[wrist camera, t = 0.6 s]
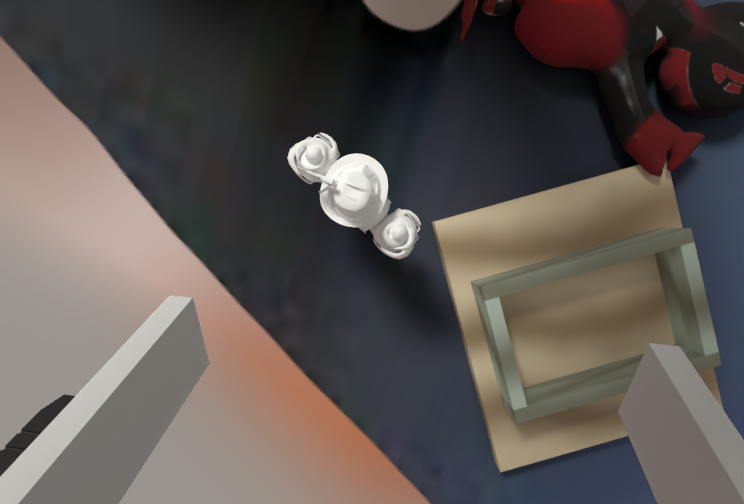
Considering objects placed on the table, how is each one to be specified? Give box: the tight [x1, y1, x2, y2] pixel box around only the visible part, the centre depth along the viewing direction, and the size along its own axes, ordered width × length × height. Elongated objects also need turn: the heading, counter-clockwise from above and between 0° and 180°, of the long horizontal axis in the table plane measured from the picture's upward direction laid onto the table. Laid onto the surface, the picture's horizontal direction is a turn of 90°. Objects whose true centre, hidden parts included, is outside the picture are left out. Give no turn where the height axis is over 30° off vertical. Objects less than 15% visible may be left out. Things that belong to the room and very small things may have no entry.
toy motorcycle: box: [461, 0, 744, 177], centre depth 30 cm, size 25×5×16 cm
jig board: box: [431, 157, 723, 472], centre depth 31 cm, size 20×18×4 cm
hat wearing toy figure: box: [287, 133, 421, 259], centre depth 26 cm, size 9×4×12 cm, turn 48°
